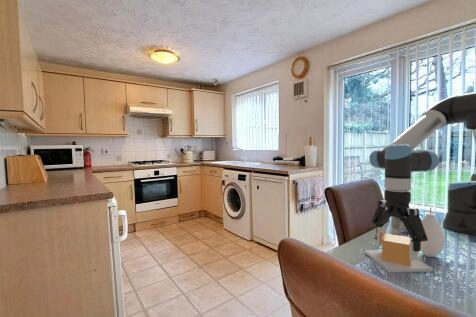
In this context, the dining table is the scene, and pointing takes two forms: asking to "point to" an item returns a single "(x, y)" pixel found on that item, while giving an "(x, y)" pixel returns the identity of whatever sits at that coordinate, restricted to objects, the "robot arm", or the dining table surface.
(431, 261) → the dining table surface
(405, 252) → the orange block
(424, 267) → the mat
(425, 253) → the white egg shape
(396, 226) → the post stand
